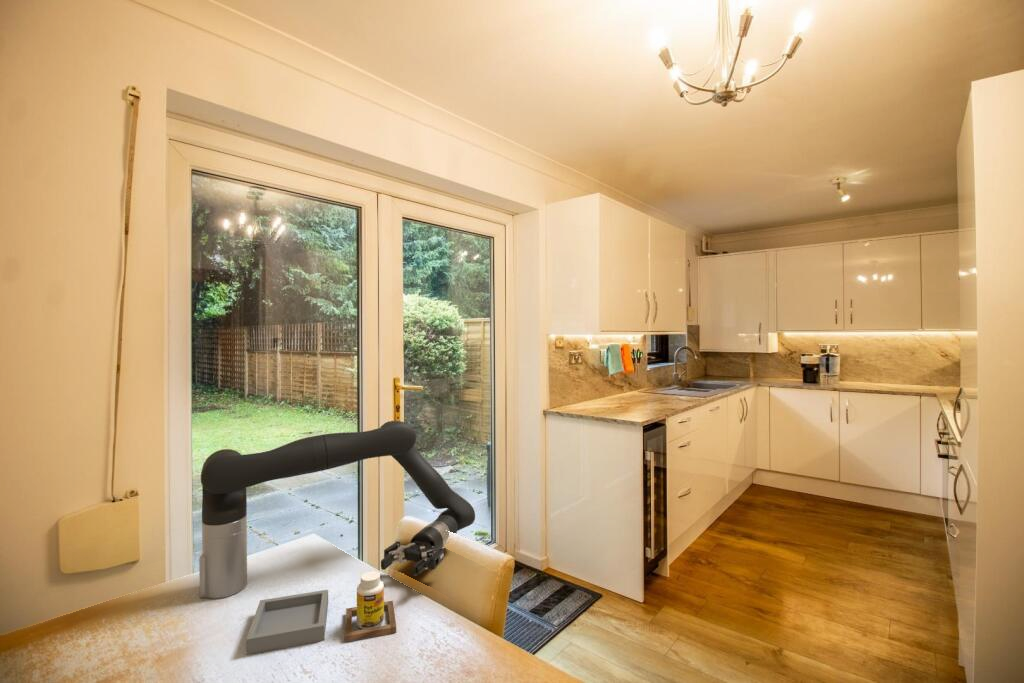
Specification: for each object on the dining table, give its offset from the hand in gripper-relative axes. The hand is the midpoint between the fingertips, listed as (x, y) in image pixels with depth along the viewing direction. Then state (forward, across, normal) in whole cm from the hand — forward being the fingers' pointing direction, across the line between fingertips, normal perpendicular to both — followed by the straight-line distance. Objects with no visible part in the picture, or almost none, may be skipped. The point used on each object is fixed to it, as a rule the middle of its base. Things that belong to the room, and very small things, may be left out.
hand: (398, 568), depth 111 cm
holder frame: (+11, 0, +6) cm, 13 cm away
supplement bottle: (+11, 0, +7) cm, 13 cm away
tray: (+17, -15, +6) cm, 24 cm away
